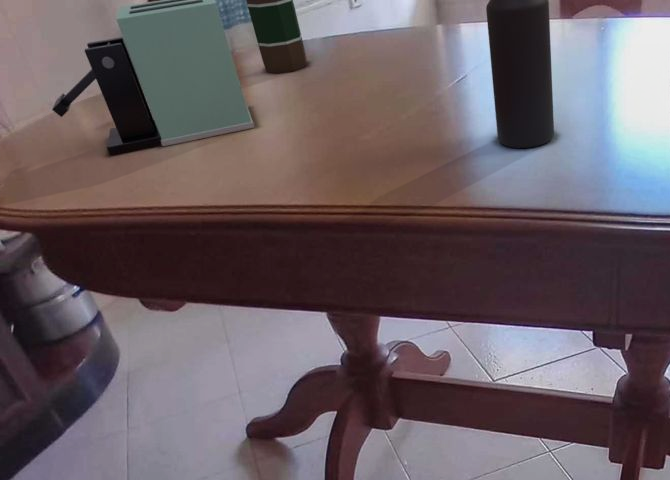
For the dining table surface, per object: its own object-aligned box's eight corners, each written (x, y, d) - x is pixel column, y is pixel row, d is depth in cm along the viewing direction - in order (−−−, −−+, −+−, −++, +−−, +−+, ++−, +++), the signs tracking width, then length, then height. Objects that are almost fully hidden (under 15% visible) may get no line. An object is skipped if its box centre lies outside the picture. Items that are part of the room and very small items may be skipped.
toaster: (162, 146, 95) (113, 18, 85) (162, 125, 103) (118, 5, 93) (254, 127, 98) (217, 1, 88) (247, 108, 106) (212, -10, 96)
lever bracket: (110, 156, 94) (67, 56, 86) (113, 136, 101) (74, 42, 93) (171, 143, 96) (135, 44, 88) (171, 124, 103) (137, 31, 95)
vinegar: (546, 149, 81) (537, -47, 69) (491, 148, 83) (472, -43, 71) (559, 129, 86) (553, -58, 74) (506, 128, 88) (492, -54, 76)
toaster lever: (65, 120, 92) (47, 106, 90) (69, 110, 96) (52, 96, 94) (124, 61, 91) (107, 46, 89) (125, 54, 94) (109, 39, 93)
